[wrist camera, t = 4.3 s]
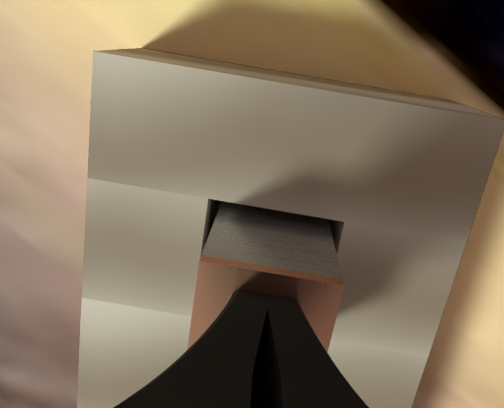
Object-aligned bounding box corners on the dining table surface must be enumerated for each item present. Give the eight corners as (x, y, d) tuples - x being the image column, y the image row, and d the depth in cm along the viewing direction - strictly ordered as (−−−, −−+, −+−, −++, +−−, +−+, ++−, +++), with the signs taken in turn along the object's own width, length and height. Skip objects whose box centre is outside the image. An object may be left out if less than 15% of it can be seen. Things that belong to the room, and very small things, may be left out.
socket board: (140, 48, 15) (93, 51, 12) (451, 100, 15) (507, 120, 11) (107, 472, 21) (69, 566, 17) (331, 511, 21) (342, 614, 17)
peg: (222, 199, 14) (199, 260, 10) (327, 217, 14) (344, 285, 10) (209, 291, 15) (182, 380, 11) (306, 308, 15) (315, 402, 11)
